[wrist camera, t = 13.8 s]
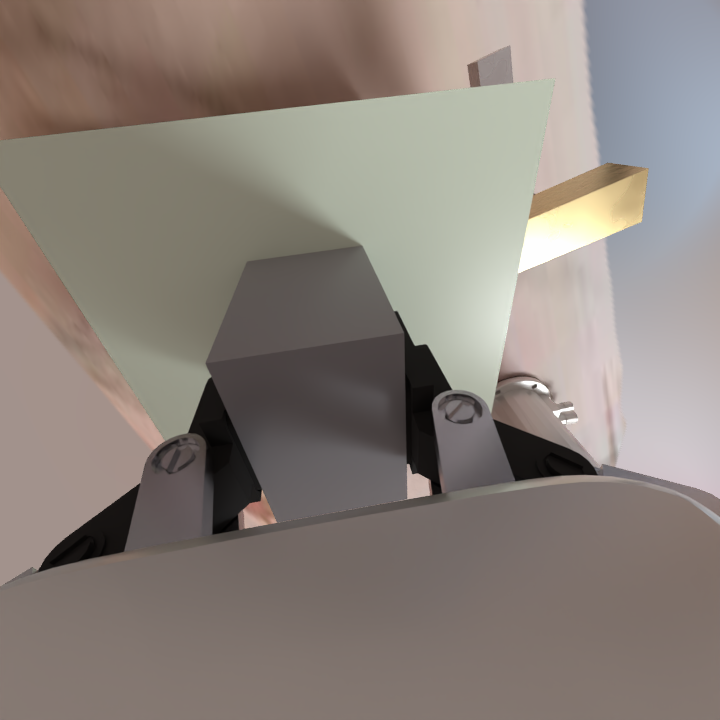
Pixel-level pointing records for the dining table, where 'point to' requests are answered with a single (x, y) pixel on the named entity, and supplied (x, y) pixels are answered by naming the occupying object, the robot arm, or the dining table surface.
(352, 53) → the dining table surface
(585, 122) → the dining table surface
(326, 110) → the cover
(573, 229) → the key
